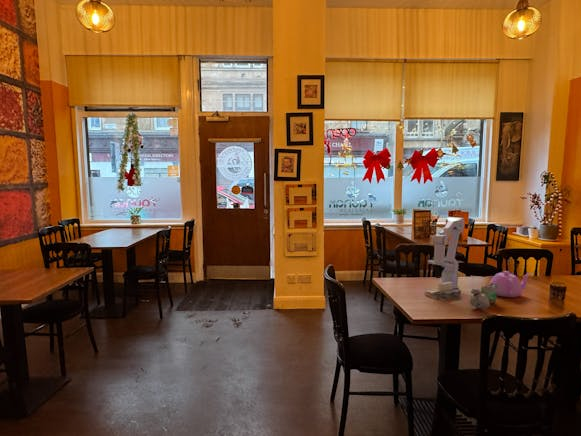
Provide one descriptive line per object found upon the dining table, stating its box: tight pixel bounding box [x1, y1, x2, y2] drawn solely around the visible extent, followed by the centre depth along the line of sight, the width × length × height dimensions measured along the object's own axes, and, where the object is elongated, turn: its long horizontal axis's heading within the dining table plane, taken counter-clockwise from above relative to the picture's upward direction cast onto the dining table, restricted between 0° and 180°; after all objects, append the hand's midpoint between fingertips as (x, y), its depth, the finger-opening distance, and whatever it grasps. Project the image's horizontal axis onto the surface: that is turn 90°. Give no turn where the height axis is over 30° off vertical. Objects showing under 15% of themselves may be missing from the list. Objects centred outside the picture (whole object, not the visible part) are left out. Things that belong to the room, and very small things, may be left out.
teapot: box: [488, 270, 532, 298], centre depth 223 cm, size 22×22×14 cm
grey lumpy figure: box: [469, 287, 491, 310], centre depth 196 cm, size 10×10×12 cm
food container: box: [480, 283, 499, 306], centre depth 207 cm, size 12×6×10 cm, turn 129°
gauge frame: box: [424, 288, 462, 302], centre depth 220 cm, size 16×14×4 cm
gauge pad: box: [433, 282, 453, 294], centre depth 218 cm, size 14×2×7 cm, turn 117°
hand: (438, 277), depth 223 cm, fingers closed
